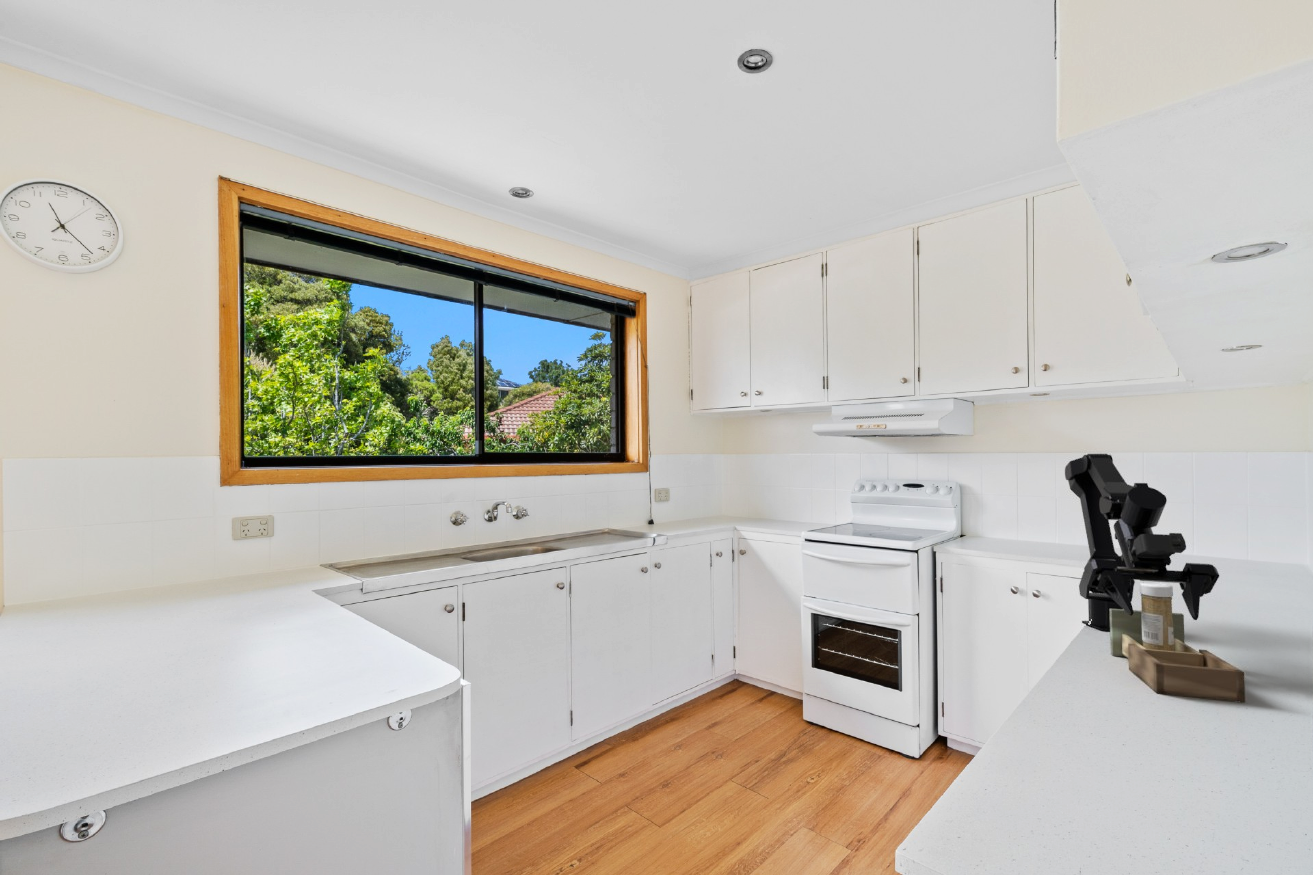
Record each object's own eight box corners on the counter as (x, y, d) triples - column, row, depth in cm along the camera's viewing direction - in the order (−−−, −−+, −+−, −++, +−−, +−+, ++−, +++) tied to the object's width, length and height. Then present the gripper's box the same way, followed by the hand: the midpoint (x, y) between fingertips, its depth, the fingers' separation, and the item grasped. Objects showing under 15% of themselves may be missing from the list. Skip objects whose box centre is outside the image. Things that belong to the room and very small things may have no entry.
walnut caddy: (1128, 669, 110) (1128, 643, 110) (1206, 676, 107) (1206, 649, 107) (1156, 693, 99) (1156, 664, 99) (1245, 702, 95) (1244, 672, 95)
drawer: (1110, 653, 119) (1109, 608, 119) (1182, 659, 115) (1180, 613, 116) (1134, 673, 108) (1133, 623, 108) (1214, 681, 104) (1212, 629, 104)
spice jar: (1182, 665, 108) (1179, 586, 109) (1156, 665, 108) (1154, 586, 109) (1159, 657, 113) (1157, 581, 114) (1135, 657, 113) (1132, 581, 113)
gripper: (1088, 515, 118) (1109, 585, 107) (1212, 518, 112) (1248, 593, 101) (1077, 551, 125) (1096, 621, 115) (1193, 556, 119) (1224, 631, 108)
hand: (1163, 616), depth 109 cm, fingers open, 9 cm apart
